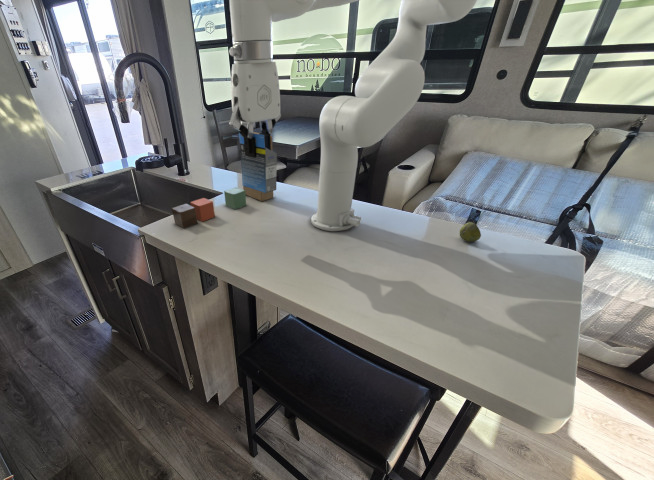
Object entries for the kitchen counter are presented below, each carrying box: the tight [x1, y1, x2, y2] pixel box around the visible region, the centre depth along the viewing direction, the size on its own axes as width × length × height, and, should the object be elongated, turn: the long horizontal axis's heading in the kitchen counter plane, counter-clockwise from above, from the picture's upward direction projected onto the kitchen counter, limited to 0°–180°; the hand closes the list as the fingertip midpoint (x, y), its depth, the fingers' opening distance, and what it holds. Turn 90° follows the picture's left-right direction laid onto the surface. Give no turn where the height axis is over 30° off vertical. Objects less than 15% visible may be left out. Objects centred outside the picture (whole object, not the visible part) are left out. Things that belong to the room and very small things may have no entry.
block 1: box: [171, 203, 199, 229], centre depth 94 cm, size 5×5×5 cm
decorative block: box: [242, 131, 274, 202], centre depth 105 cm, size 11×6×20 cm, turn 38°
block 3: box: [223, 187, 247, 210], centre depth 104 cm, size 5×5×5 cm
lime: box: [459, 221, 482, 243], centre depth 78 cm, size 4×5×5 cm
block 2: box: [190, 197, 216, 223], centre depth 97 cm, size 5×5×5 cm
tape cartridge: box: [238, 132, 278, 193], centre depth 72 cm, size 9×4×12 cm, turn 43°
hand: (258, 153), depth 71 cm, fingers closed on tape cartridge, 3 cm apart
